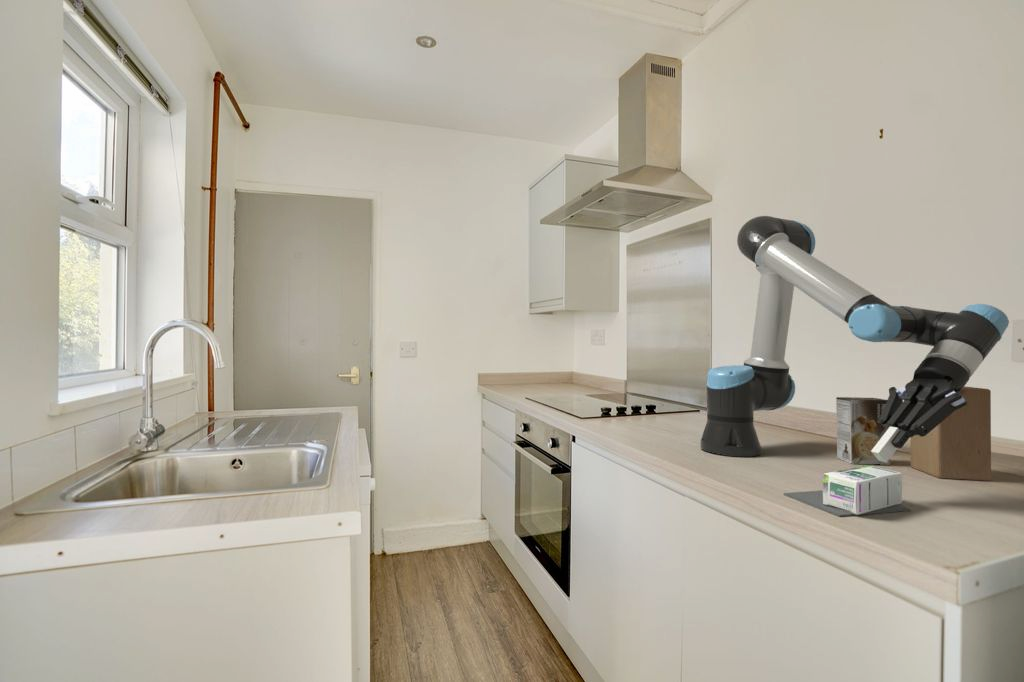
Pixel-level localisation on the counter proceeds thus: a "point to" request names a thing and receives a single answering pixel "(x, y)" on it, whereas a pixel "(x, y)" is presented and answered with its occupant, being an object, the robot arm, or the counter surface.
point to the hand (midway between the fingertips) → (878, 456)
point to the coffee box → (859, 429)
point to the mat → (817, 501)
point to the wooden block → (958, 441)
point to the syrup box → (862, 489)
